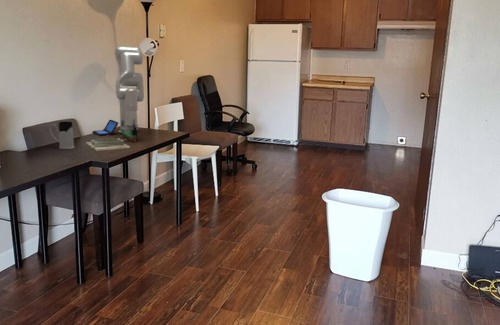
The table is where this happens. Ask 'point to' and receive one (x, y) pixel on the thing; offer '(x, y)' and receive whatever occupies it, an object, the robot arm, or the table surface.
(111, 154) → the table surface
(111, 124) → the game console
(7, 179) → the table surface
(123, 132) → the food container
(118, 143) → the stand
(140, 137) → the table surface
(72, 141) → the grey pitcher
